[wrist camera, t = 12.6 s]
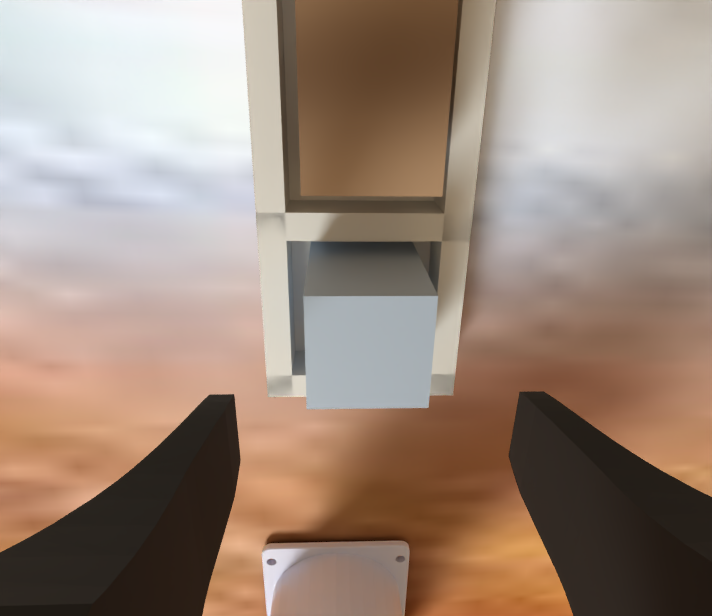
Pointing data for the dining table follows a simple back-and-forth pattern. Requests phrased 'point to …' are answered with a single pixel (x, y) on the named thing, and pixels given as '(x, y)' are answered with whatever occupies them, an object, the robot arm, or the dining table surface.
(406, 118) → the tan cardboard carton
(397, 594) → the robot arm
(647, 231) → the dining table surface
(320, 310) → the grey rectangular prism
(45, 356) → the dining table surface
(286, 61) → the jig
